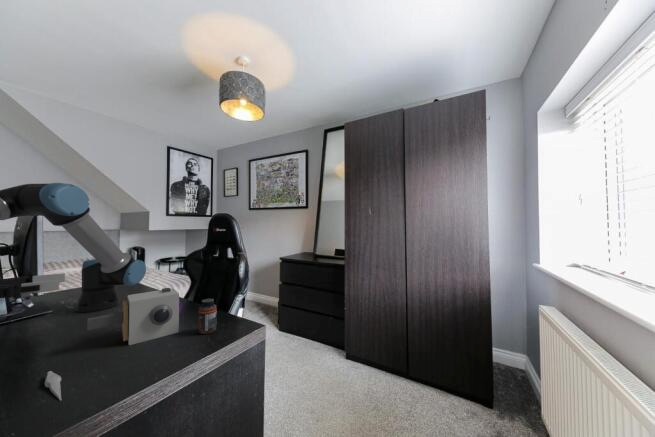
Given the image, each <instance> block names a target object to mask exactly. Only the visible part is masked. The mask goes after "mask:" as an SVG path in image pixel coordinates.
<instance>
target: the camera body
mask: <svg viewBox="0 0 655 437" xmlns="http://www.w3.org/2000/svg"><path fill="white" fill-rule="evenodd" d="M126 299H127V304H128V340H127V344H128V346H132V345H135V344H140V343H144V342H147V341H151V340H155V339H158V338H162V337H163V338H164V337H166V336H169V335H173V334H178V333H179V329H180V312H179V301H180V292H178V291H177V290H176V289H175V288H174V287H172V288H170V287H165V288H161V289H160V290H153V291H152V290H151V291H146V292H141V293H140V292H139V293H134V294H128V295H127V298H126Z"/></svg>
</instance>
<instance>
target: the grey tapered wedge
mask: <svg viewBox="0 0 655 437" xmlns="http://www.w3.org/2000/svg"><path fill="white" fill-rule="evenodd" d="M44 379H45V381H44V387H45V388H48V389H49V390H50V392H51V393H52V394H53V395H54V396H55V397H56V398H57V399H58V400H59V401H60V402H61V401H62V400H63V399H62V391H61V388H62V385H61V381H62V377H61V375H58V374H57V373H55V372H53V371H52V370H50V371H47V373H46V377H45V378H44Z"/></svg>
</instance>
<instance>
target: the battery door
mask: <svg viewBox="0 0 655 437" xmlns="http://www.w3.org/2000/svg"><path fill="white" fill-rule="evenodd" d="M86 323H87V325H86V326H87V327H86V330H87V331H90V330H97V329H99V328H104V327H110V326H114V325H119V324H121V333H122V334H121V335H122V341H123V342H125V341H128V304H127V300H126V299H125V300H122V311H120V312H116V313H109V314H105V315H100V316H92V317H88V318H87V322H86Z"/></svg>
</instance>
